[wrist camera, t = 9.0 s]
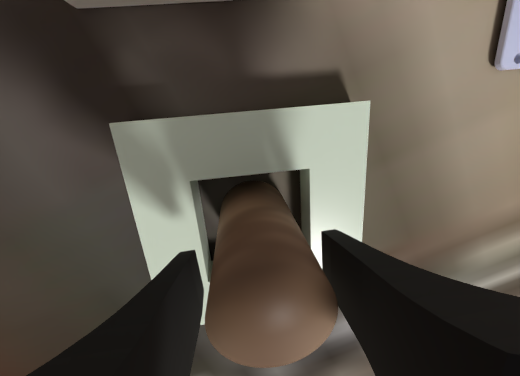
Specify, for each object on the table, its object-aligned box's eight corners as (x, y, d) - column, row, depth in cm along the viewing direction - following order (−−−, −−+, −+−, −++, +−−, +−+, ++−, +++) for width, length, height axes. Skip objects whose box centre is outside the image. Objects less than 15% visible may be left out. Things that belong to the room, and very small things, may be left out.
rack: (351, 102, 13) (370, 100, 11) (344, 280, 17) (358, 301, 15) (128, 121, 12) (108, 123, 10) (173, 304, 16) (165, 330, 14)
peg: (283, 176, 14) (337, 251, 7) (287, 235, 15) (338, 355, 8) (215, 185, 14) (192, 274, 6) (226, 244, 15) (217, 377, 8)
